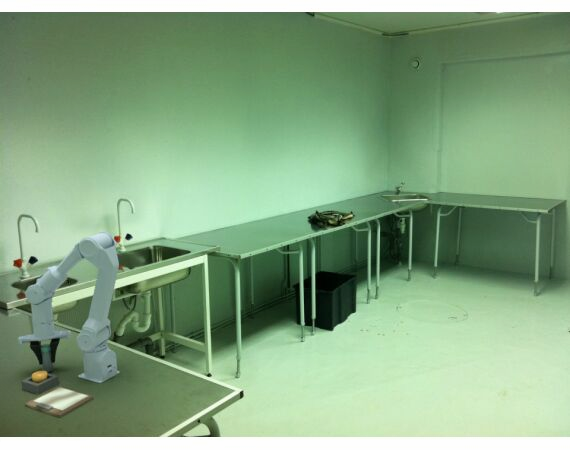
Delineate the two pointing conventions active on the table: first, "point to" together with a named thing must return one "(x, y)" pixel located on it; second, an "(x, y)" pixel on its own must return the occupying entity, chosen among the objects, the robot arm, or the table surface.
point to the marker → (46, 357)
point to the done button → (39, 376)
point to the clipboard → (59, 401)
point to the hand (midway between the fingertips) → (47, 362)
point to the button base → (40, 384)
